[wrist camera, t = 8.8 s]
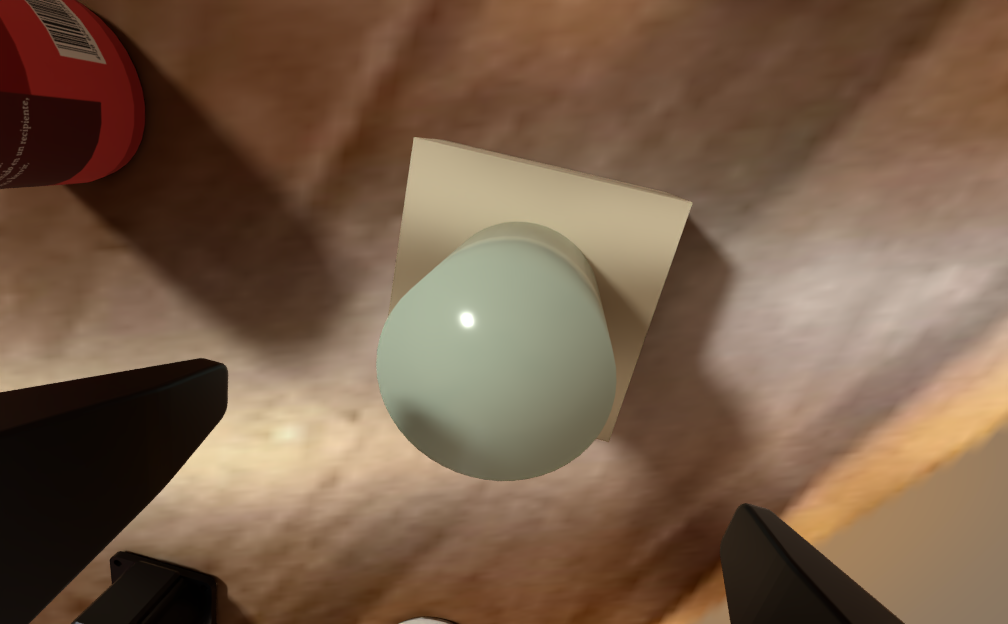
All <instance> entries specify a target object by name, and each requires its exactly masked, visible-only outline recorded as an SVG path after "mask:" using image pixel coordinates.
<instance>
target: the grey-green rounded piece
mask: <svg viewBox="0 0 1008 624" xmlns="http://www.w3.org/2000/svg"><path fill="white" fill-rule="evenodd" d="M376 366H377V379H378V383H379V388H380V392H381V395H382V398H383V401H384V404H385V406H386V408H387V410H388V412H389V414H390V416H391V418H392V419H393V421H394V422H395V424H396V425H397V427H398V428H399V430H400V431H401V432H402V433H403V434H404V436H405V437H406V438H407V439H408V440H409V441H410V442H411V443H412V444H413V445H414V446H415V447H416V448H417V449H418V450H420V451H421V452H422V453H424V454H425V455H426V456H428V457H429V458H430V459H432V460H434V461H435V462H437V463H439V464H440V465H442V466H444V467H446V468H449V469H451V470H453V471H455V472H458V473H461V474H464V475H467V476H470V477H475V478H480V479H485V480H495V481H515V480H523V479H529V478H534V477H538V476H542V475H544V474H547V473H550V472H552V471H555V470H557V469H559V468H561V467H563V466H565V465H566V464H568V463H570V462H571V461H572V460H574V459H575V458H577V457H578V456H579V455H581V454H582V453H583V452H584V451H585V450H586V449H587V448H588V447H589V446H590V445H591V444H592V443H593V441H594V440H595V439H596V438H597V437H598V435H599V434H600V432H601V430H602V429H603V427H604V425H605V424H606V422H607V419H608V417H609V415H610V412H611V410H612V406H613V402H614V398H615V392H616V382H617V381H616V365H615V359H614V354H613V349H612V345H611V341H610V337H609V332H608V328H607V324H606V319H605V315H604V311H603V307H602V302H601V298H600V294H599V290H598V285H597V281H596V278H595V275H594V272H593V270H592V268H591V266H590V264H589V262H588V260H587V259H586V257H585V256H584V254H583V253H582V252H581V251H580V250H579V248H578V247H577V246H576V245H575V244H574V243H573V242H571V241H570V240H569V239H568V238H567V237H565V236H563V235H562V234H560V233H559V232H557V231H555V230H553V229H551V228H548V227H546V226H542V225H539V224H535V223H529V222H505V223H500V224H496V225H493V226H490V227H487V228H485V229H483V230H481V231H479V232H477V233H475V234H474V235H472V236H471V237H470V238H468V239H467V240H466V241H465V242H464V243H462V244H461V245H460V246H459V247H458V248H457V249H456V250H454V251H453V252H452V253H451V254H450V255H449V256H448V257H447V258H445V259H444V260H443V261H442V262H441V263H440V264H439V265H437V266H436V267H435V268H434V269H433V270H432V271H431V272H430V273H428V274H427V275H426V276H425V277H424V278H423V279H422V280H420V281H419V282H418V283H417V284H416V285H415V286H414V287H413V288H411V289H410V290H409V291H408V292H407V293H406V294H405V295H404V296H403V297H402V298H401V299H400V301H399V302H398V303H397V305H396V306H395V307H394V309H393V310H392V312H391V313H390V315H389V317H388V319H387V321H386V322H385V325H384V328H383V330H382V333H381V336H380V340H379V345H378V349H377V362H376Z"/></svg>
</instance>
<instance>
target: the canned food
mask: <svg viewBox="0 0 1008 624" xmlns="http://www.w3.org/2000/svg"><path fill="white" fill-rule="evenodd" d="M144 127H145V103H144V97H143V91H142V87H141V84H140V81H139V78H138V75H137V72H136V69H135V67H134V65H133V63H132V61H131V59H130V57H129V55H128V53H127V51H126V49H125V48H124V47H123V45H122V44H121V42H120V41H119V39H118V38H117V36H116V35H115V34H114V33H113V31H112V30H111V29H110V28H109V27H108V26H107V25H106V24H105V23H104V22H103V21H102V20H101V19H100V18H99V17H98V16H97V15H95V14H94V13H93V12H92V11H90V10H89V9H88V8H87V7H85V6H84V5H83V4H81V3H79V2H78V1H76V0H0V189H4V188H19V187H34V186H48V185H63V184H77V183H87V182H92V181H94V180H97V179H100V178H103V177H105V176H107V175H109V174H112V173H114V172H116V171H118V170H119V169H120V168H122V167H123V166H125V165H126V164H127V163H128V162H129V161H130V159H131V158H132V157H133V156H134V155H135V153H136V151H137V149H138V147H139V145H140V143H141V140H142V136H143V131H144Z"/></svg>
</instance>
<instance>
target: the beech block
mask: <svg viewBox="0 0 1008 624" xmlns="http://www.w3.org/2000/svg"><path fill="white" fill-rule="evenodd" d="M691 206H692V202H689V201H687V200H684V199H682V198H679V197H677V196H674V195H672V194H669V193H666V192H662V191H658V190H654V189H649V188H645V187H641V186H637V185H633V184H628V183H624V182H620V181H616V180H611V179H607V178H603V177H599V176H594V175H590V174H586V173H582V172H577V171H573V170H569V169H565V168H560V167H556V166H552V165H548V164H543V163H539V162H535V161H531V160H526V159H522V158H518V157H514V156H509V155H505V154H501V153H497V152H492V151H488V150H484V149H480V148H475V147H471V146H467V145H463V144H459V143H454V142H450V141H446V140H437V139H427V138H417V137H414V141H413V148H412V155H411V162H410V168H409V175H408V182H407V189H406V196H405V203H404V210H403V217H402V224H401V231H400V238H399V245H398V252H397V259H396V265H395V272H394V279H393V286H392V293H391V300H390V307H389V314H388V317H389V315H390V313H391V312H392V310H393V309H394V307H395V306H396V305H397V303H398V302H399V301H400V299H401V298H402V297H403V296H404V295H405V294H406V293H407V292H408V291H409V290H410V289H411V288H413V287H414V286H415V285H416V284H417V283H418V282H419V281H420V280H422V279H423V278H424V277H425V276H426V275H427V274H428V273H430V272H431V271H432V270H433V269H434V268H435V267H436V266H437V265H439V264H440V263H441V262H442V261H443V260H444V259H445V258H447V257H448V256H449V255H450V254H451V253H452V252H453V251H454V250H456V249H457V248H458V247H459V246H460V245H461V244H462V243H464V242H465V241H466V240H467V239H468V238H470V237H471V236H472V235H474V234H475V233H477V232H479V231H481V230H483V229H485V228H487V227H490V226H493V225H496V224H500V223H505V222H529V223H535V224H539V225H542V226H546V227H548V228H551V229H553V230H555V231H557V232H559V233H560V234H562V235H563V236H565V237H567V238H568V239H569V240H570V241H571V242H573V243H574V244H575V245H576V246H577V247H578V248H579V250H580V251H581V252H582V253H583V254H584V256H585V257H586V259H587V260H588V262H589V264H590V266H591V268H592V270H593V272H594V275H595V278H596V281H597V285H598V290H599V294H600V298H601V302H602V307H603V311H604V315H605V319H606V324H607V328H608V332H609V337H610V341H611V345H612V349H613V354H614V359H615V365H616V381H617V382H616V392H615V398H614V402H613V406H612V410H611V412H610V415H609V417H608V419H607V422H606V424H605V425H604V427H603V429H602V430H601V432H600V434H599V435H598V437H597V438H596V439H599V440H603V441H607V442H609V440H610V437H611V434H612V431H613V428H614V425H615V423H616V420H617V417H618V414H619V411H620V408H621V405H622V403H623V400H624V397H625V394H626V391H627V388H628V386H629V383H630V380H631V377H632V374H633V371H634V368H635V366H636V363H637V360H638V357H639V354H640V351H641V348H642V346H643V343H644V340H645V337H646V334H647V331H648V329H649V326H650V323H651V320H652V317H653V314H654V311H655V309H656V306H657V303H658V300H659V297H660V294H661V291H662V289H663V286H664V283H665V280H666V277H667V274H668V271H669V269H670V266H671V263H672V260H673V257H674V254H675V252H676V249H677V246H678V243H679V240H680V237H681V234H682V232H683V229H684V226H685V223H686V220H687V217H688V214H689V212H690V209H691Z"/></svg>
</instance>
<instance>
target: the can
mask: <svg viewBox="0 0 1008 624" xmlns="http://www.w3.org/2000/svg"><path fill="white" fill-rule="evenodd" d="M399 624H454V623H452V622H450V621H447V620H444V619H440V618H435V617H416V618H411V619H408V620H405V621H403V622H401V623H399Z"/></svg>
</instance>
